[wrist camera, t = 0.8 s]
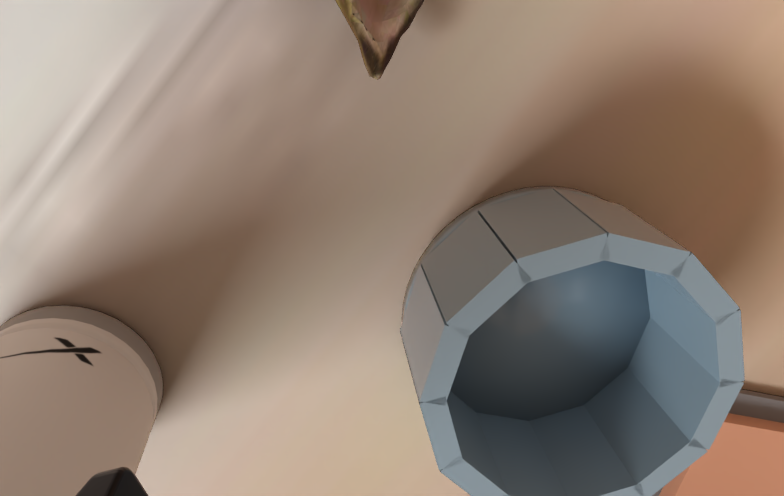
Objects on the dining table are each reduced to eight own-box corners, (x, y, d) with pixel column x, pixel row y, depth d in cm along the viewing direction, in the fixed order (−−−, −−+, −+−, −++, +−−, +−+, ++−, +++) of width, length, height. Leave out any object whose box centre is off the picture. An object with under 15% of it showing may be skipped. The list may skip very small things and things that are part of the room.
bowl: (600, 439, 27) (664, 536, 23) (372, 401, 25) (387, 499, 20) (699, 220, 24) (798, 277, 19) (446, 157, 22) (485, 203, 17)
